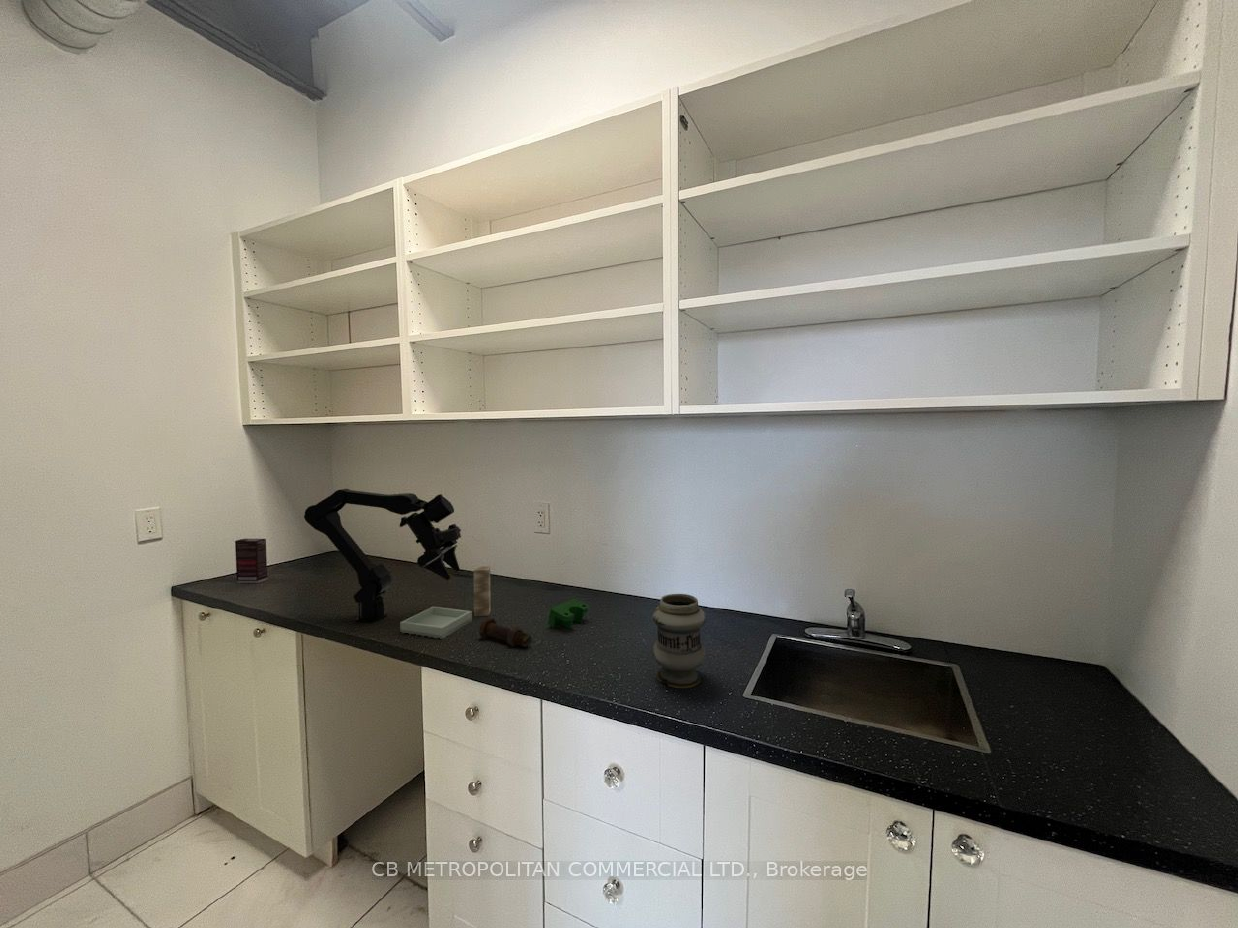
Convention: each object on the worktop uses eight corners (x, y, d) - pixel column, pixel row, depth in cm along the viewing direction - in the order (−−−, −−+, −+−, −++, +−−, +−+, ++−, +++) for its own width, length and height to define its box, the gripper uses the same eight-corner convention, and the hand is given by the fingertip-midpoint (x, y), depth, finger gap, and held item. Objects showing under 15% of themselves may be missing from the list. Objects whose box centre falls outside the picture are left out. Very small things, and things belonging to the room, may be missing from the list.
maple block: (473, 616, 148) (473, 570, 147) (475, 611, 152) (475, 566, 151) (488, 615, 148) (488, 570, 148) (490, 610, 153) (490, 566, 152)
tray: (400, 632, 135) (400, 622, 135) (432, 616, 148) (432, 606, 148) (442, 639, 131) (442, 627, 130) (471, 621, 144) (471, 611, 143)
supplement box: (268, 579, 185) (266, 538, 185) (258, 583, 180) (256, 540, 180) (246, 579, 186) (244, 538, 185) (235, 583, 181) (234, 540, 180)
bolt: (526, 656, 125) (483, 642, 132) (537, 640, 128) (495, 627, 136) (518, 641, 122) (475, 627, 130) (530, 625, 126) (488, 613, 133)
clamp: (565, 644, 138) (562, 621, 134) (549, 634, 141) (546, 612, 137) (591, 617, 147) (589, 595, 142) (576, 609, 150) (574, 587, 145)
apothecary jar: (641, 678, 109) (641, 599, 109) (671, 660, 118) (672, 587, 118) (686, 697, 101) (687, 612, 101) (715, 676, 111) (717, 598, 110)
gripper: (437, 521, 135) (468, 568, 136) (456, 511, 154) (484, 552, 155) (403, 543, 135) (434, 589, 136) (427, 530, 154) (454, 571, 155)
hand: (453, 574), depth 146 cm, fingers open, 9 cm apart
